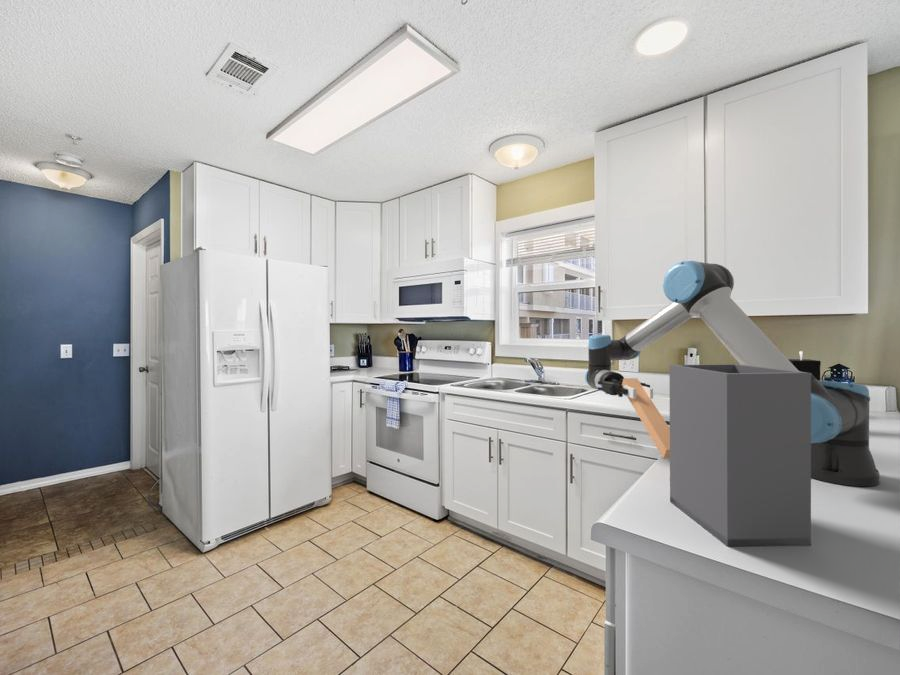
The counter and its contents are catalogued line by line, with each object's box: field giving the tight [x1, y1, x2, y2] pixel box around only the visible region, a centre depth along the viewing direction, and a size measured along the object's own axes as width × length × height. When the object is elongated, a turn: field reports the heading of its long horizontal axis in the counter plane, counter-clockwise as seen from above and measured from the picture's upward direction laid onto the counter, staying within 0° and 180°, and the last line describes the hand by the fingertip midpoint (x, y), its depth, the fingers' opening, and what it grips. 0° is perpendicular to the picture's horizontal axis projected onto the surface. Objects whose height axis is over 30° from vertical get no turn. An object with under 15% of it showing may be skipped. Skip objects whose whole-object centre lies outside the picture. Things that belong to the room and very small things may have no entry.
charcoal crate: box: [668, 363, 812, 547], centre depth 78 cm, size 14×18×29 cm
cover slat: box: [622, 377, 670, 460], centre depth 110 cm, size 28×4×3 cm
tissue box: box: [787, 350, 822, 381], centre depth 146 cm, size 8×8×28 cm
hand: (643, 393), depth 113 cm, fingers closed on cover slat, 4 cm apart
